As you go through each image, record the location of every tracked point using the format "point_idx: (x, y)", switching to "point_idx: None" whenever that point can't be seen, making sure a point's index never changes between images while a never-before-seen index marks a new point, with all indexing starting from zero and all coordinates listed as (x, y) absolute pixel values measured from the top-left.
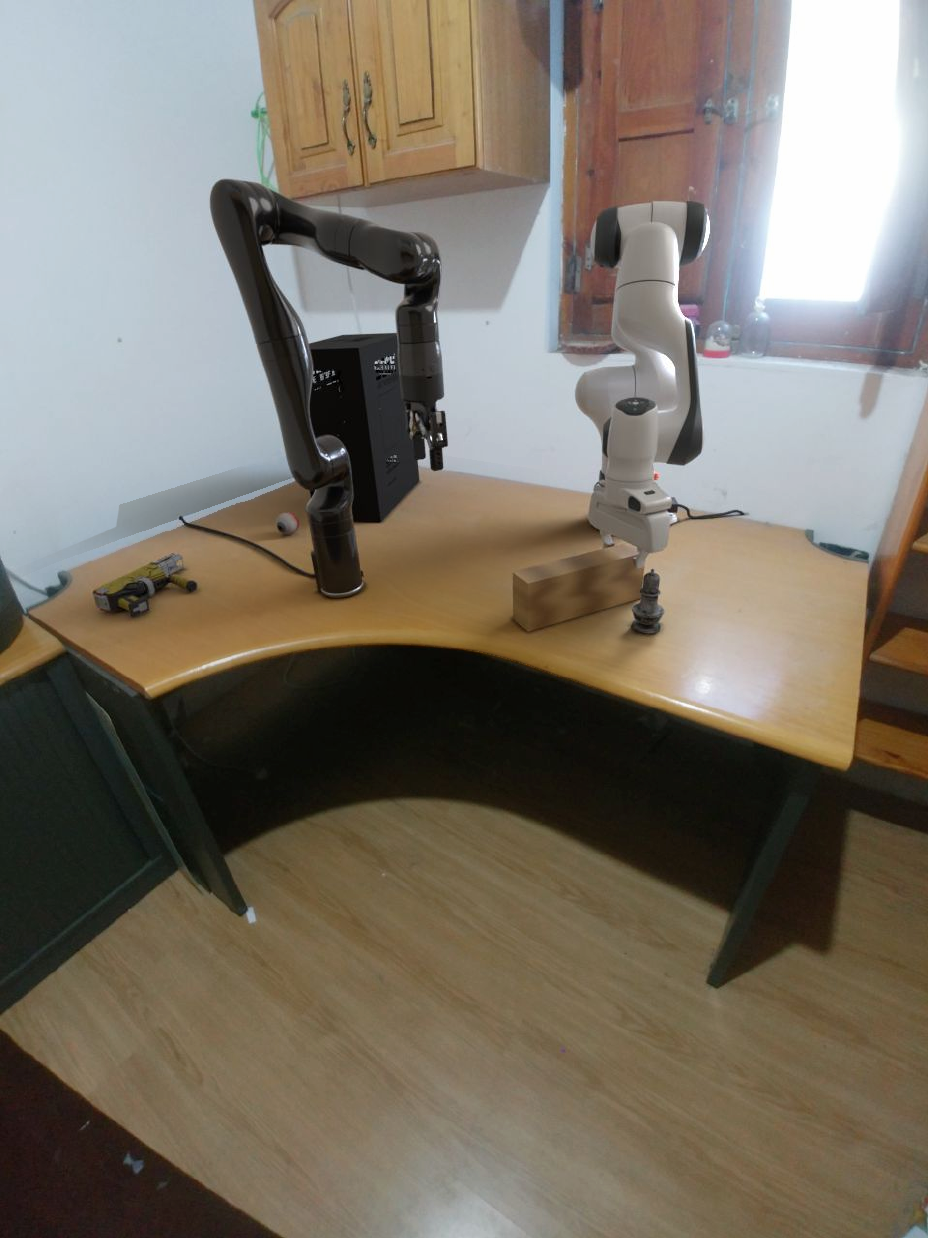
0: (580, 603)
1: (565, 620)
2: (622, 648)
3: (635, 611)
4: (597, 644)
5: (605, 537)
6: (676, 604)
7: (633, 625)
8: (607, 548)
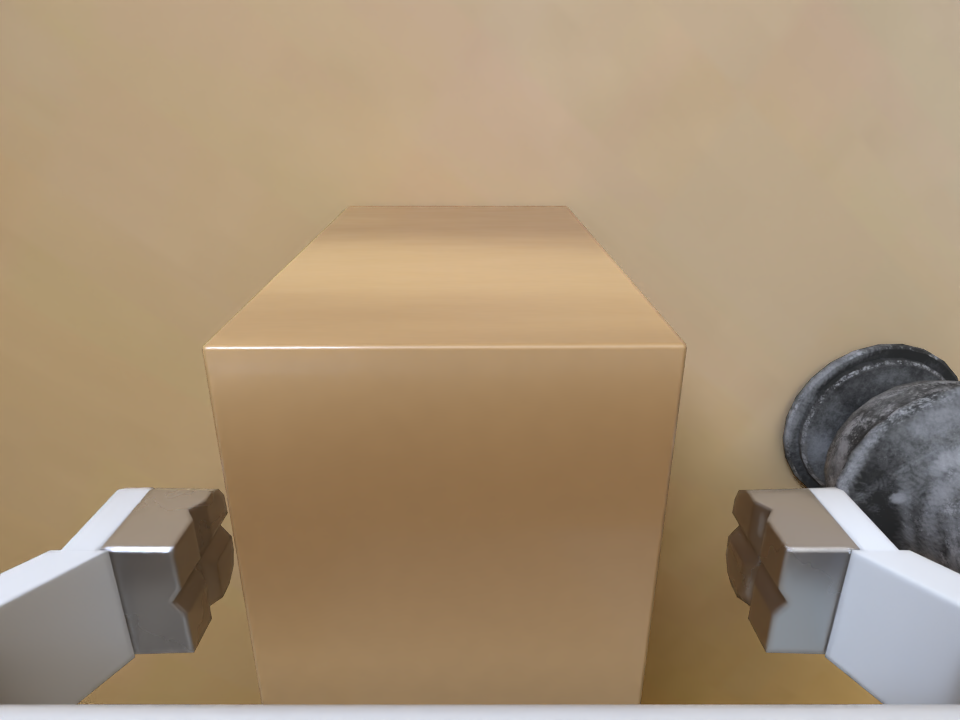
0: None
1: None
2: None
3: None
4: (811, 696)
5: (45, 685)
6: (803, 20)
7: None
8: (285, 676)
